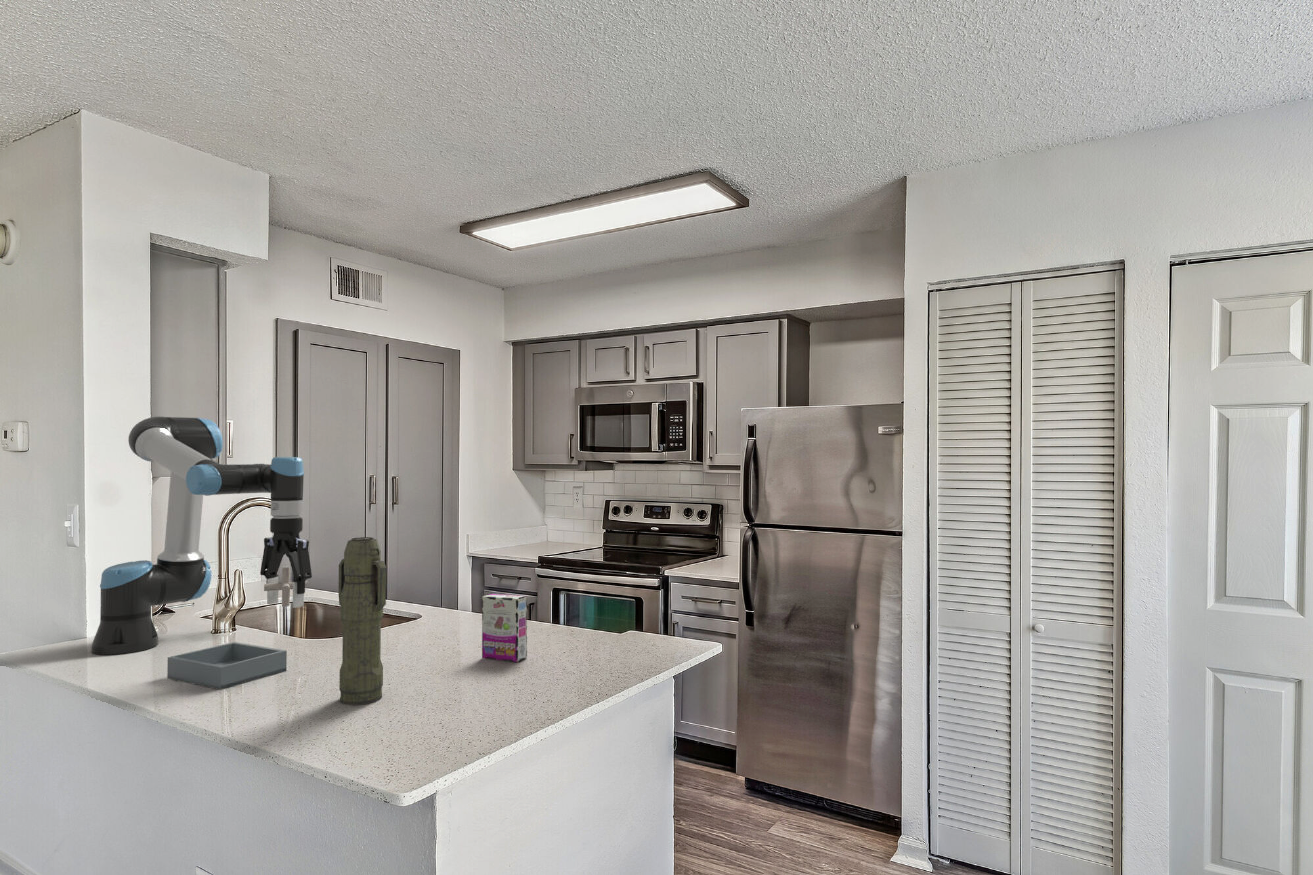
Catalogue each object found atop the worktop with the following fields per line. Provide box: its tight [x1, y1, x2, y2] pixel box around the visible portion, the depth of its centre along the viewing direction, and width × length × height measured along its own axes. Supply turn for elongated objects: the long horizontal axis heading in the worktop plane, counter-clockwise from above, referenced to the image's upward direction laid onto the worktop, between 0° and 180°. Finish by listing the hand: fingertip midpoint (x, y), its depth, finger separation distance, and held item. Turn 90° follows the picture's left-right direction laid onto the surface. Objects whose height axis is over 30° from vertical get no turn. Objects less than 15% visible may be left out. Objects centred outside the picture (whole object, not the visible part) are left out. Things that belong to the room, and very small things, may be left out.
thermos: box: [338, 536, 388, 706], centre depth 168 cm, size 9×12×35 cm
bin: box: [166, 641, 288, 690], centre depth 186 cm, size 20×17×5 cm
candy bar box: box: [481, 593, 528, 663], centre depth 201 cm, size 11×5×16 cm, turn 68°
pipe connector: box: [263, 565, 308, 608], centre depth 196 cm, size 10×10×10 cm
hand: (285, 604), depth 196 cm, fingers closed on pipe connector, 9 cm apart
